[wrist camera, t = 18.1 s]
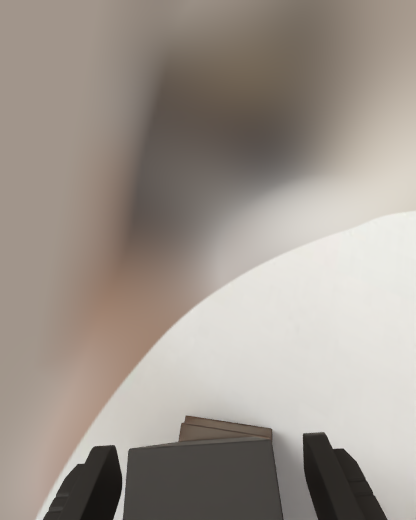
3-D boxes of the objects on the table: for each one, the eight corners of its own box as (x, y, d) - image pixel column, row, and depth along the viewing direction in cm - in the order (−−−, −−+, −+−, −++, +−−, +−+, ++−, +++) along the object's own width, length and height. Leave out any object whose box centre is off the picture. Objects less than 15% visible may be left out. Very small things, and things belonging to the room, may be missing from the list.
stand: (170, 525, 17) (149, 555, 13) (187, 415, 20) (174, 411, 16) (268, 546, 16) (279, 585, 12) (270, 428, 20) (279, 427, 15)
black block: (182, 541, 13) (108, 687, 6) (182, 441, 15) (128, 448, 8) (266, 537, 13) (307, 681, 5) (254, 436, 15) (271, 439, 8)
